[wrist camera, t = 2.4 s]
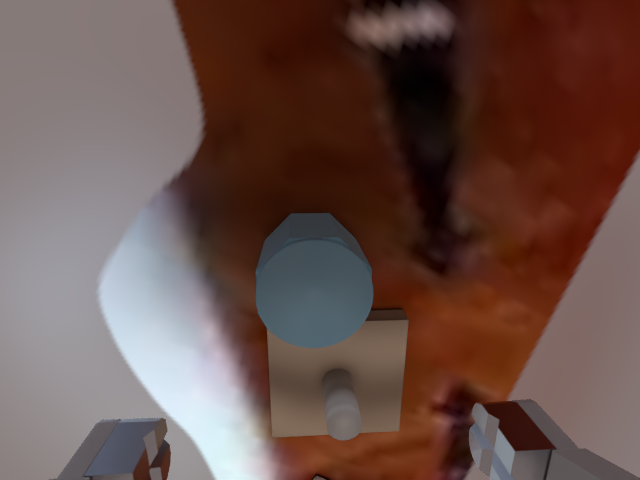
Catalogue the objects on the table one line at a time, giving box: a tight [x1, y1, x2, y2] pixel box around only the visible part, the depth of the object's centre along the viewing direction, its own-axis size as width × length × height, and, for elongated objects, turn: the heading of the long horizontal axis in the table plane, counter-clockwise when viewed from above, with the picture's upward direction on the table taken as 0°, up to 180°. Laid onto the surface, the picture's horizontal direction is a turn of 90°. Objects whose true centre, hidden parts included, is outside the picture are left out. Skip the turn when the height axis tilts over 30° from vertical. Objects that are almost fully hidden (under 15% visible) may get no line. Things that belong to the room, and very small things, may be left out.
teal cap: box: [255, 213, 373, 348], centre depth 17 cm, size 5×5×5 cm
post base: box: [267, 310, 409, 440], centre depth 20 cm, size 8×8×4 cm
